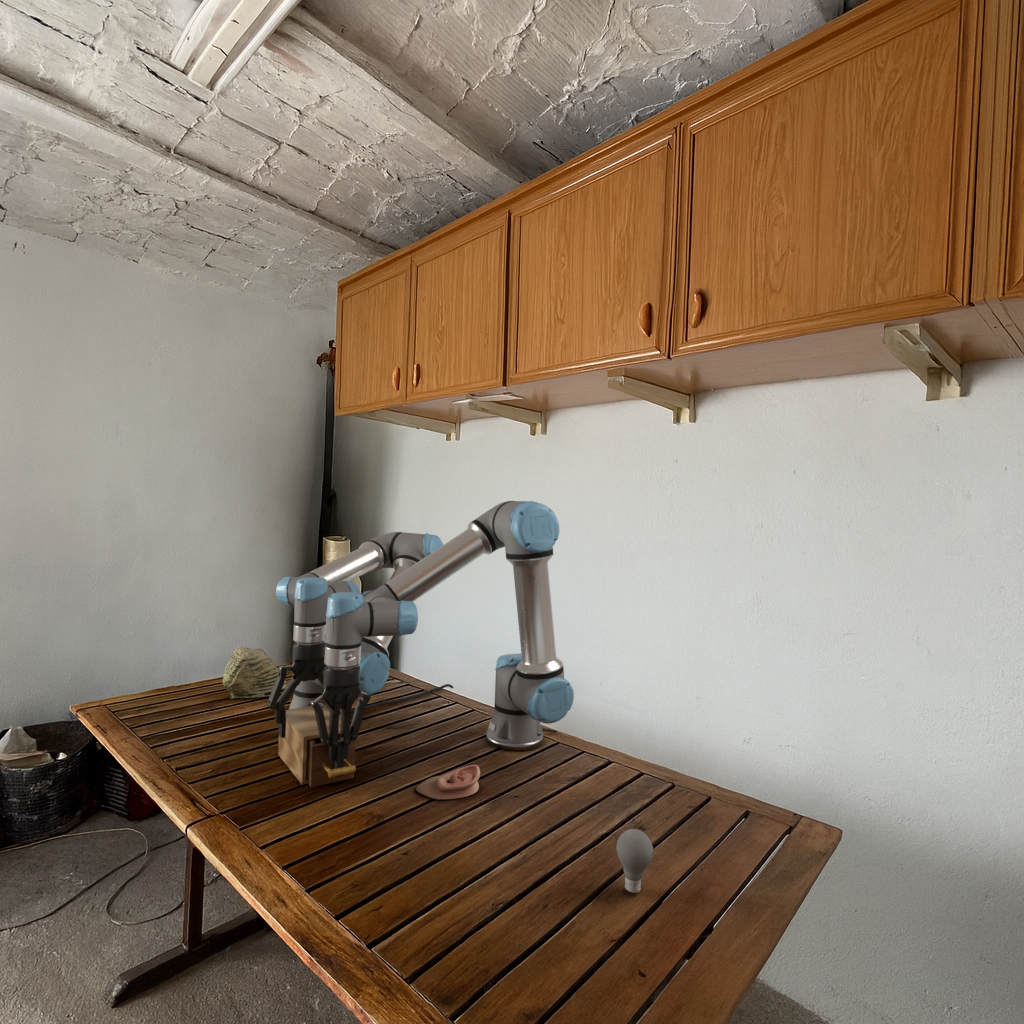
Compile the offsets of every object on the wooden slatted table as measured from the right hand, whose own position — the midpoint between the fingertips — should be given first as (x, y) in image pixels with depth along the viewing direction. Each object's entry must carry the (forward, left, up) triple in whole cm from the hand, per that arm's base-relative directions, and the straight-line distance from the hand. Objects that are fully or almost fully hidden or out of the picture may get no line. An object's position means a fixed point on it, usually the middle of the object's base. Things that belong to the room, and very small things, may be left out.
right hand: (337, 773), depth 136 cm
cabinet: (+3, -16, -4) cm, 17 cm away
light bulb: (-41, +51, -4) cm, 66 cm away
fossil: (+15, -74, -4) cm, 75 cm away
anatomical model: (-23, +6, -4) cm, 24 cm away
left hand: (+5, -21, +2) cm, 22 cm away
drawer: (+2, -9, -3) cm, 9 cm away
